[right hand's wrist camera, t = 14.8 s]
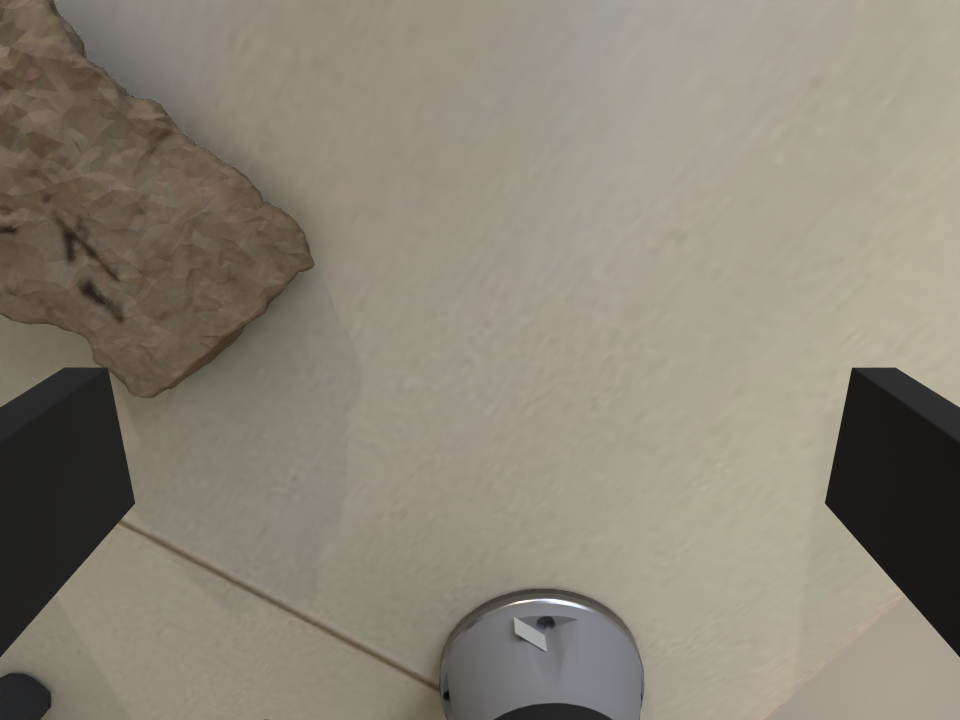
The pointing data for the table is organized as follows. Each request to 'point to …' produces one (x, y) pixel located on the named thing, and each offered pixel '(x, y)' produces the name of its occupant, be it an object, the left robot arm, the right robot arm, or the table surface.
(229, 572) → the table surface
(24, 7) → the stone
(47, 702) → the robot
